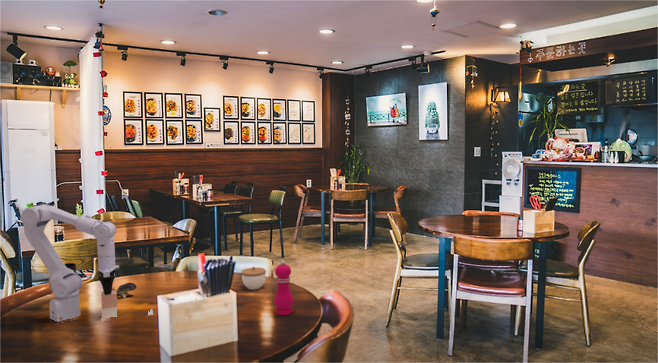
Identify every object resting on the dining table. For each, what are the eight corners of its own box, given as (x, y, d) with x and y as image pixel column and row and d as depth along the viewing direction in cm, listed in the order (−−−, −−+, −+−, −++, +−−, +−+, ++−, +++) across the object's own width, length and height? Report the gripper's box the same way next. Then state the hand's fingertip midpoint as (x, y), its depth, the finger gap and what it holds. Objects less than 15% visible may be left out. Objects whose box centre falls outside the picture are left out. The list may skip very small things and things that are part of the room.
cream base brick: (101, 319, 167) (101, 308, 167) (102, 315, 172) (101, 304, 171) (116, 317, 169) (116, 306, 169) (117, 313, 174) (116, 302, 174)
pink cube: (101, 308, 167) (101, 295, 167) (102, 304, 171) (101, 291, 171) (116, 306, 169) (116, 293, 169) (117, 302, 174) (116, 289, 173)
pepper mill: (290, 316, 169) (289, 263, 167) (271, 315, 170) (270, 262, 169) (295, 309, 176) (294, 258, 174) (277, 308, 177) (276, 257, 176)
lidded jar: (239, 286, 207) (238, 265, 207) (262, 282, 212) (261, 262, 211) (245, 292, 198) (244, 271, 197) (269, 289, 202) (268, 268, 202)
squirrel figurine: (122, 300, 187) (140, 290, 194) (112, 286, 187) (131, 276, 195) (114, 307, 191) (132, 297, 198) (105, 293, 191) (123, 283, 199)
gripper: (118, 258, 164) (119, 295, 165) (118, 250, 177) (120, 284, 178) (96, 260, 161) (98, 298, 162) (98, 252, 174) (100, 287, 175)
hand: (108, 291), depth 170 cm, fingers open, 7 cm apart
